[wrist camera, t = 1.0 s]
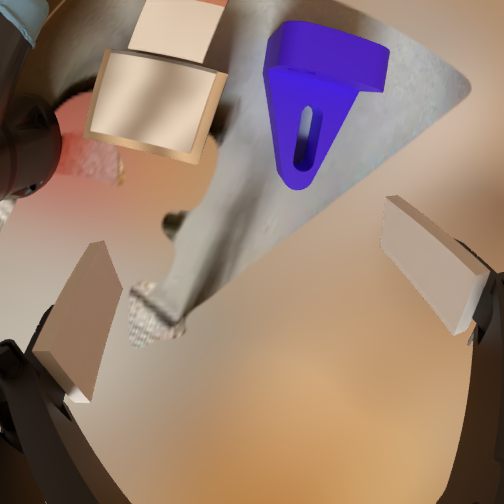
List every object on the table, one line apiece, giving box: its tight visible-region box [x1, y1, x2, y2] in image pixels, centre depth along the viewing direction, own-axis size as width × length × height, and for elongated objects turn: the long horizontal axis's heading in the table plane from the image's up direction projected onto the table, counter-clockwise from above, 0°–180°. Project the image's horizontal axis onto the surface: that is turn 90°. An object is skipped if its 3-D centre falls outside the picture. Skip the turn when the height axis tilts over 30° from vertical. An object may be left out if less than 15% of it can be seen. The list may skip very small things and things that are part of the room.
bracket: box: [263, 21, 390, 190], centre depth 30 cm, size 18×11×12 cm, turn 172°
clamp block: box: [83, 49, 228, 165], centre depth 28 cm, size 12×9×11 cm
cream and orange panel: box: [128, 0, 229, 64], centre depth 20 cm, size 7×8×1 cm
